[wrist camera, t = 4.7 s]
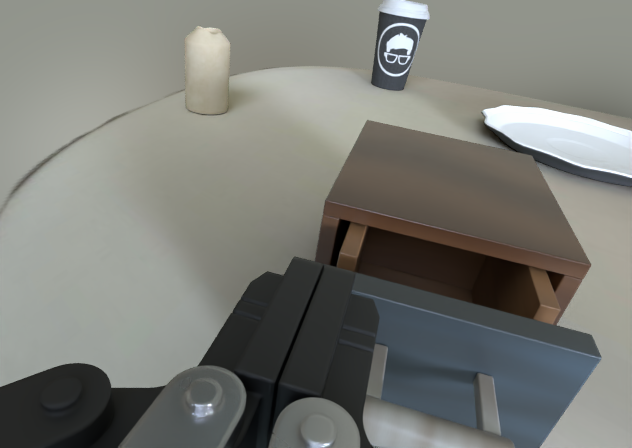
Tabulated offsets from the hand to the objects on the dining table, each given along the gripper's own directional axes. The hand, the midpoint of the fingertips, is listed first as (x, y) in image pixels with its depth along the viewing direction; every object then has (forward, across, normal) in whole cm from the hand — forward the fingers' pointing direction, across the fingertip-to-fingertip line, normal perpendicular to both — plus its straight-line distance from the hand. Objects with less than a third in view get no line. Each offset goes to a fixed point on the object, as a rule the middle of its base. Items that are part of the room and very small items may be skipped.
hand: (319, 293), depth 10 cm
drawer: (+9, -4, +11) cm, 15 cm away
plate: (+62, -27, +12) cm, 69 cm away
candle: (+45, +25, +12) cm, 53 cm away
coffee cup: (+81, +4, +12) cm, 82 cm away
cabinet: (+16, -4, +12) cm, 20 cm away
